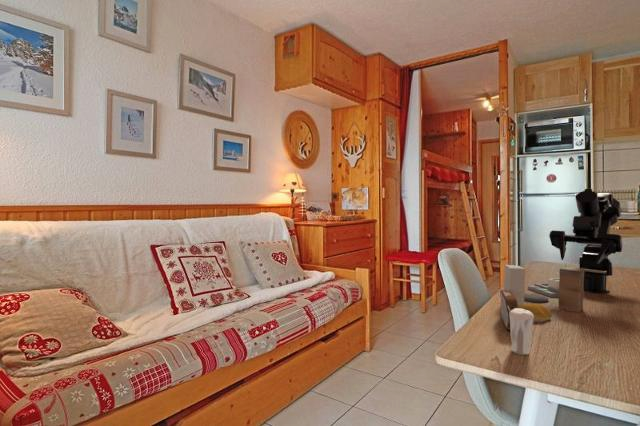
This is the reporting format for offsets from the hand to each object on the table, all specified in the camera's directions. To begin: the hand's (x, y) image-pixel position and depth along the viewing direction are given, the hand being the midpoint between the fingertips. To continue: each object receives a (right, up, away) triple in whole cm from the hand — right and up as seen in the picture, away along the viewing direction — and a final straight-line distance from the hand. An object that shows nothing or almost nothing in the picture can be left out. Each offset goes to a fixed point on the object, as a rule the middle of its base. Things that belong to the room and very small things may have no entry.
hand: (579, 260), depth 115 cm
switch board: (+1, -13, +14) cm, 19 cm away
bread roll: (-22, -14, -13) cm, 30 cm away
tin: (-32, -14, -20) cm, 40 cm away
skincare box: (-22, -14, -2) cm, 26 cm away
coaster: (-11, -13, +6) cm, 18 cm away
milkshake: (-39, -15, -37) cm, 55 cm away
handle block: (-6, -14, -5) cm, 16 cm away
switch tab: (+2, -12, +13) cm, 18 cm away
